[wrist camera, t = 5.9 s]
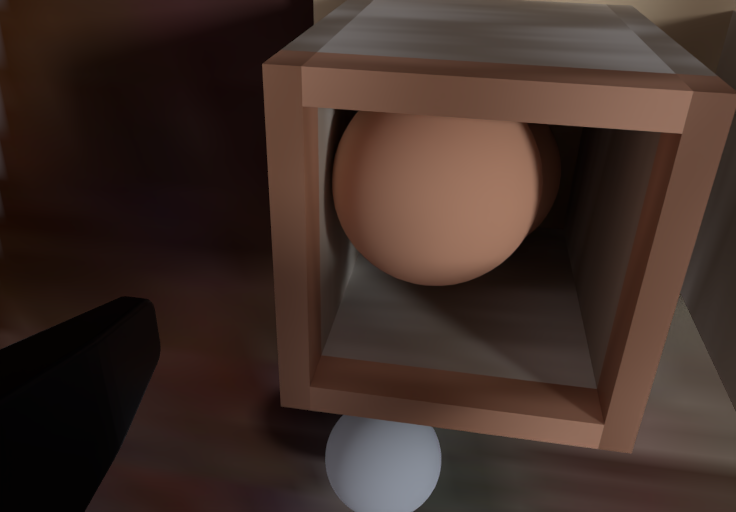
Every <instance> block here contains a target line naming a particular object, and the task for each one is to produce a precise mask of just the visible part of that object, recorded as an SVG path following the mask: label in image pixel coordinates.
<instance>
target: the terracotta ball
mask: <svg viewBox="0 0 736 512" xmlns="http://www.w3.org/2000/svg"><path fill="white" fill-rule="evenodd" d="M542 186H543V176H542V163H541V158H540V153H539V150H538V147H537V144H536V141H535V139H534V136H533V134H532V132H531V130H530V128H529V127H528V125H527V123H526V122H512V121H499V120H485V119H471V118H457V117H443V116H429V115H415V114H401V113H387V112H374V111H360V110H359V111H358V112H357V113H356V114H355V116H354V117H353V119H352V120H351V121H350V123H349V124H348V126H347V128H346V130H345V131H344V133H343V135H342V138H341V140H340V142H339V144H338V147H337V150H336V153H335V158H334V163H333V170H332V193H333V200H334V205H335V209H336V212H337V215H338V218H339V221H340V224H341V226H342V228H343V230H344V232H345V233H346V235H347V237H348V238H349V240H350V241H351V243H352V244H353V245H354V247H355V248H356V249H357V250H358V251H359V252H360V253H361V254H362V255H363V256H364V257H365V258H366V259H367V260H368V261H369V262H370V263H371V264H373V265H374V266H375V267H377V268H378V269H380V270H381V271H383V272H385V273H386V274H389V275H391V276H393V277H395V278H397V279H400V280H404V281H407V282H410V283H413V284H419V285H425V286H445V285H454V284H459V283H463V282H467V281H469V280H472V279H475V278H477V277H480V276H481V275H483V274H485V273H487V272H489V271H491V270H493V269H494V268H495V267H497V266H498V265H500V264H501V263H502V262H504V261H505V260H506V259H507V258H508V257H509V256H510V255H511V254H512V253H513V252H514V251H515V250H516V249H517V248H518V247H519V245H520V244H521V243H522V241H523V240H524V238H525V237H526V236H527V234H528V232H529V230H530V229H531V227H532V225H533V223H534V220H535V218H536V215H537V212H538V208H539V204H540V200H541V196H542Z"/></svg>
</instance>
